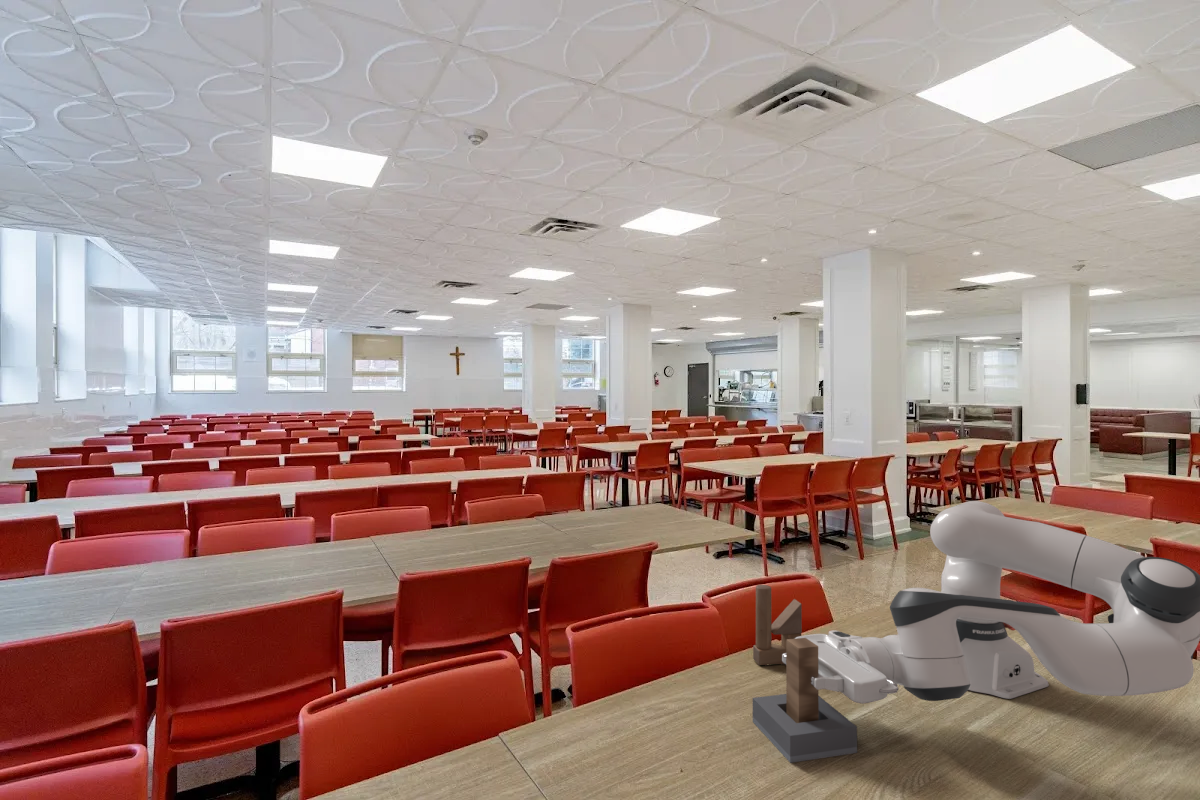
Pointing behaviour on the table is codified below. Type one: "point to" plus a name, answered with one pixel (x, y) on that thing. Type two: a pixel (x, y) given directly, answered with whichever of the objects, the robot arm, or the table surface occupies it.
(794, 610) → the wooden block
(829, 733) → the grey socket base
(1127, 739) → the table surface
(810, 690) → the brown rectangular bar
